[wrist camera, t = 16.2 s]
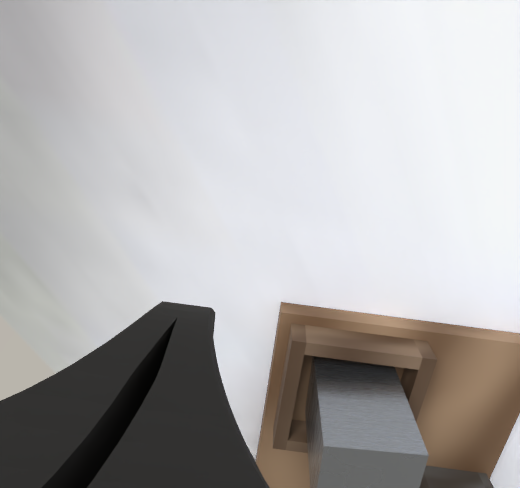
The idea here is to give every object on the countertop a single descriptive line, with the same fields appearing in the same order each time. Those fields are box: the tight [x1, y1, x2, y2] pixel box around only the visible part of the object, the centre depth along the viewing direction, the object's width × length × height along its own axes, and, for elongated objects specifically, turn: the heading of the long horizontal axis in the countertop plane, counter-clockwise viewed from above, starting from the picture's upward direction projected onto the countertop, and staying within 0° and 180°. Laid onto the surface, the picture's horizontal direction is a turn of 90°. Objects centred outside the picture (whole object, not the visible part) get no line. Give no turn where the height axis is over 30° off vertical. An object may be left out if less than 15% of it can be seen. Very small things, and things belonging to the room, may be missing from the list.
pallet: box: [256, 302, 520, 488], centre depth 23 cm, size 14×15×3 cm
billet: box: [305, 356, 429, 488], centre depth 19 cm, size 4×4×6 cm
